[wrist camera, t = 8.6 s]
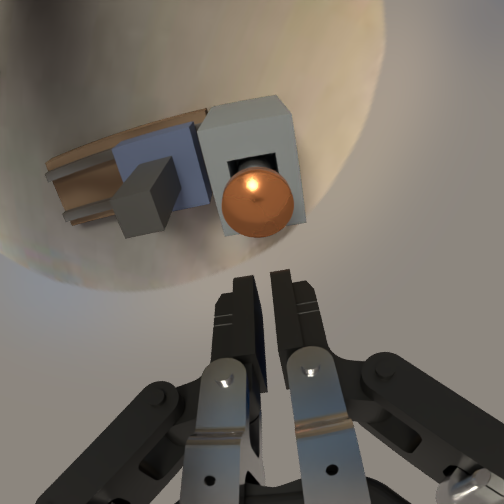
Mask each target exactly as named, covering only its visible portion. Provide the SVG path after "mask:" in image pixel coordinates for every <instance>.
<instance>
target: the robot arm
mask: <svg viewBox="0 0 504 504" xmlns="http://www.w3.org/2000/svg"><path fill="white" fill-rule="evenodd" d="M270 277H271V286H272V295H273V304H274V314H275V323H276V334H277V343H278V352H279V357H280V362H281V366H282V371H283V375H284V380H285V385H286V389H290V394H291V401H292V408H293V415H294V423H295V434H296V442H297V449H298V456H299V464H300V472H301V479H298V480H296V481H293V482H290V483H287V484H284V485H281V486H278V487H267V486H265V472H264V466H263V461H262V412H261V397H260V393H265V392H268V391H267V375H266V359H265V343H264V328H263V315H262V309H261V304H260V300H259V296H258V291H257V287H256V283H255V279H254V276H253V275H250V276H244V277H237V278H234V279H233V292H231V293H224V294H221V296H220V298H219V299H218V301H217V303H216V304H215V315H214V316H215V318H214V328H213V339H212V352H211V362H210V364H209V365H208V366H207V367H206V368H205V370H204V371H203V373H202V376H201V377H200V378H198V379H197V380H195V381H192V382H190V383H187V384H184V385H182V386H179V387H176V388H175V386H174V385H172V384H171V383H169V382H165V381H158V382H154V383H151V384H149V385H148V386H146V387H145V388H144V389H143V390H142V391H141V392H140V393H139V394H138V395H137V396H136V397H135V399H134V400H133V401H132V402H131V403H130V404H129V405H128V406H127V407H126V408H125V409H124V410H123V411H122V412H121V413H120V414H119V415H118V416H117V418H116V419H115V420H114V421H113V422H112V423H111V424H110V425H109V426H108V427H107V428H106V429H105V430H104V431H103V432H102V433H101V434H100V435H99V437H97V438H96V439H95V441H93V442H92V444H91V445H90V446H89V447H88V448H87V449H86V450H85V451H84V452H83V453H82V454H81V455H80V456H79V457H78V458H77V459H76V460H75V461H74V462H73V463H72V464H71V465H70V466H69V467H68V468H67V469H66V470H65V471H64V473H62V474H61V476H59V477H58V479H57V480H56V481H55V482H54V483H53V484H52V485H51V486H50V487H49V488H48V489H47V490H46V491H45V492H44V493H43V494H42V495H41V496H40V497H39V498H38V499H37V501H36V503H35V504H150V502H151V501H152V500H153V499H154V498H155V497H156V496H157V495H158V494H159V493H160V492H161V490H162V489H163V488H164V487H165V486H166V485H167V484H168V483H169V482H170V480H171V479H172V478H173V477H174V476H175V475H176V474H177V472H178V471H179V470H180V469H181V468H182V466H183V472H182V482H181V492H180V500H179V501H177V502H176V503H175V504H411V503H410V502H408V501H407V500H405V499H404V498H402V497H401V496H400V495H399V494H397V493H396V492H394V491H393V490H392V489H390V488H389V487H388V486H386V485H385V484H383V483H381V482H379V481H377V480H375V479H372V478H369V477H365V472H364V467H363V463H362V458H361V455H360V450H359V445H358V442H357V437H356V433H355V429H354V425H353V422H352V421H357V422H358V423H359V424H360V425H361V426H362V427H364V428H365V429H366V430H368V431H369V432H370V433H371V434H373V435H374V436H375V437H377V438H378V439H379V440H380V441H382V442H383V443H385V444H386V445H387V446H388V447H390V448H391V449H392V450H394V451H395V452H396V453H398V454H399V455H400V456H402V457H403V458H404V459H406V460H407V461H408V462H410V463H411V464H412V465H414V466H415V467H417V468H418V469H419V470H421V471H422V472H424V473H425V474H426V475H428V476H429V477H431V478H432V479H434V480H435V481H436V482H438V483H439V486H438V488H437V491H436V502H437V504H504V424H503V423H502V422H500V421H499V420H497V419H495V418H494V417H492V416H491V415H489V414H488V413H486V412H485V411H483V410H482V409H480V408H478V407H477V406H475V405H474V404H472V403H471V402H469V401H468V400H466V399H465V398H463V397H461V396H460V395H458V394H457V393H455V392H454V391H452V390H451V389H449V388H447V387H446V386H444V385H443V384H441V383H440V382H438V381H437V380H435V379H434V378H432V377H430V376H429V375H427V374H426V373H424V372H423V371H421V370H420V369H418V368H417V367H415V366H414V365H412V364H411V363H409V362H407V361H406V360H404V359H403V358H401V357H400V356H398V355H396V354H394V353H390V352H380V353H376V354H374V355H372V356H370V357H369V358H368V359H367V360H366V361H352V360H346V359H342V358H340V357H338V356H337V355H335V354H334V353H333V352H332V351H331V350H330V348H329V347H328V344H327V340H326V336H325V331H324V328H323V323H322V319H321V315H320V311H319V307H318V302H317V299H316V295H315V291H314V288H313V287H312V286H311V285H310V284H309V283H308V282H307V281H300V282H294V283H292V280H291V274H290V269H286V270H280V271H274V272H270Z"/></svg>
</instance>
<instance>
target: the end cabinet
mask: <svg viewBox="0 0 504 504" xmlns="http://www.w3.org/2000/svg"><path fill="white" fill-rule="evenodd" d="M197 134H198V138H199V142H200V145H201V149H202V153H203V157H204V161H205V165H206V168H207V172H208V176H209V180H210V183H211V187H212V191H213V195H214V198H215V202H216V206H217V209H218V213H219V217H220V220H221V224H222V228H223V231H224V235H225V236H230V235H236V234H240V233H238V232H236V231H235V230H233V229H232V228H231V227H230V226H229V225H228V224H227V222H226V221H225V219H224V216H223V213H222V197H223V191H224V188H225V186H226V184H227V182H228V181H229V180H230V178H231V177H232V176H233V175H235V174H236V173H237V172H238V165H239V162H240V161H241V159H242V158H247V157H252V156H257V155H263V156H265V157H266V158H267V159H268V160H269V162H270V164H271V168H272V170H274V171H276V172H278V173H279V174H280V175H282V176H283V177H284V178H285V180H286V181H287V183H288V184H289V186H290V189H291V192H292V195H293V199H294V210H293V214H292V217H291V219H290V221H289V222H288V223H287V225H286V226H289V225H295V224H301V223H306V215H305V207H304V199H303V191H302V183H301V175H300V168H299V161H298V153H297V146H296V140H295V133H294V126H293V120H292V114H291V112H290V111H289V110H288V109H287V107H286V106H285V105H284V104H283V103H282V101H281V100H280V99H279V98H278V96H277V95H273V96H266V97H260V98H255V99H249V100H244V101H238V102H233V103H228V104H224V105H219V106H214V107H212V108H211V109H210V111H209V112H208V114H207V116H206V117H205V119H204V121H203V122H202V124H201V126H200V127H199V129H198V131H197Z"/></svg>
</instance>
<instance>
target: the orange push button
mask: <svg viewBox="0 0 504 504" xmlns="http://www.w3.org/2000/svg"><path fill="white" fill-rule="evenodd" d="M293 210H294V199H293V195H292V192H291V189H290V186H289V184H288V183H287V181H286V180H285V178H284V177H283V176H282V175H280V174H279V173H278V172H276V171H274V170H272V168H271V164H270V162H269V160H268V159H267V158H266V157H265V156H263V155H257V156H252V157H247V158H242V159H241V161H240V162H239V165H238V172H237V173H236V174H235V175H233V176H232V177H231V178H230V180H229V181H228V182H227V184H226V186H225V188H224V191H223V197H222V213H223V216H224V219H225V221H226V222H227V224H228V225H229V226H230V227H231V228H232V229H233V230H235V231H236V232H238V233H240V234H242V235H244V236H248V237H254V238H260V237H266V236H270V235H273V234H275V233H277V232H278V231H280V230H281V229H283V228H284V227H285V226H286V225H287V223H288V222H289V221H290V219H291V217H292V214H293Z"/></svg>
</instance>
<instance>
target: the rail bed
mask: <svg viewBox="0 0 504 504" xmlns="http://www.w3.org/2000/svg"><path fill="white" fill-rule="evenodd" d="M207 114H208V112H207V108H205V109H201V110H197V111H193V112H189V113H185V114H181V115H177V116H173V117H170V118H166V119H162V120H159V121H155V122H152V123H149V124H145V125H142V126H139V127H135V128H132V129H129V130H126V131H123V132H120V133H117V134H114V135H111V136H108V137H105V138H102V139H100V140H97V141H94V142H91V143H89V144H86V145H83V146H81V147H78V148H76V149H73V150H71V151H68V152H66V153H63V154H61V155H58V156H56V157H54V158H52V159H50V160H49V161H47V162H46V163H45V164H46V166H47V169H48V172H47V173H46V174H45V176H46V178H47V181H48V182H50V181H53V184H54V186H55V189H56V191H57V193H58V196H59V198H60V200H61V202H62V205H63V207H64V209H65V212H64V213H63V214H62V215H63V217H64V219H65V221H66V222H67V221H70V222H71V224H72V226H73V225H77V224H81V223H84V222H88V221H92V220H96V219H100V218H103V217H107V216H111V215H115V213H114V211H113V208H112V206H111V204H110V200H111V198H112V197H113V196H114V194H115V193H116V192H117V191H118V189H119V188H120V187H121V186H122V184H123V181H122V178H121V175H120V172H119V169H118V167H117V164H116V161H115V158H114V155H113V152H112V148H114V147H115V146H116V145H117V144H118V143H120V142H121V141H124V140H127V139H130V138H134V137H137V136H140V135H143V134H147V133H150V132H154V131H157V130H161V129H165V128H168V127H172V126H176V125H180V124H184V123H188V122H192V121H194V125H195V129H196V133H197V131H198V129H199V127H200V126H201V124H202V122H203V121H204V119H205V117H206V116H207ZM197 137H198V134H197ZM198 140H199V138H198ZM199 144H200V142H199ZM200 148H201V145H200ZM201 152H202V149H201ZM202 156H203V153H202ZM203 160H204V157H203ZM204 163H205V161H204ZM205 167H206V165H205ZM206 171H207V168H206ZM207 175H208V172H207ZM208 178H209V176H208ZM209 182H210V180H209ZM210 186H211V183H210ZM211 190H212V187H211ZM212 193H213V191H212Z"/></svg>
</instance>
